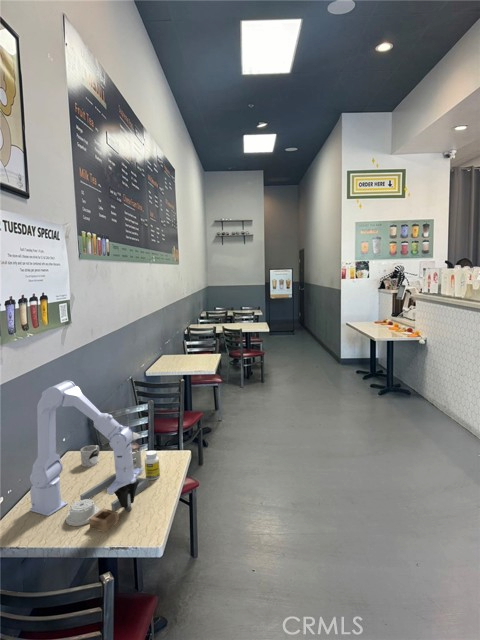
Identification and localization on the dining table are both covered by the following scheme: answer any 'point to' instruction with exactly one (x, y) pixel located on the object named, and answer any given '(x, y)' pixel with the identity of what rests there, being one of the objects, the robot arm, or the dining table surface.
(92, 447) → the mug
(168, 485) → the dining table surface
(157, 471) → the supplement bottle
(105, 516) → the hollow wooden square
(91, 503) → the mechanical component
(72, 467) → the dining table surface
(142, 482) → the grey u-shaped bracket
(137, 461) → the french press
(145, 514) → the dining table surface
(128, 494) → the pin
